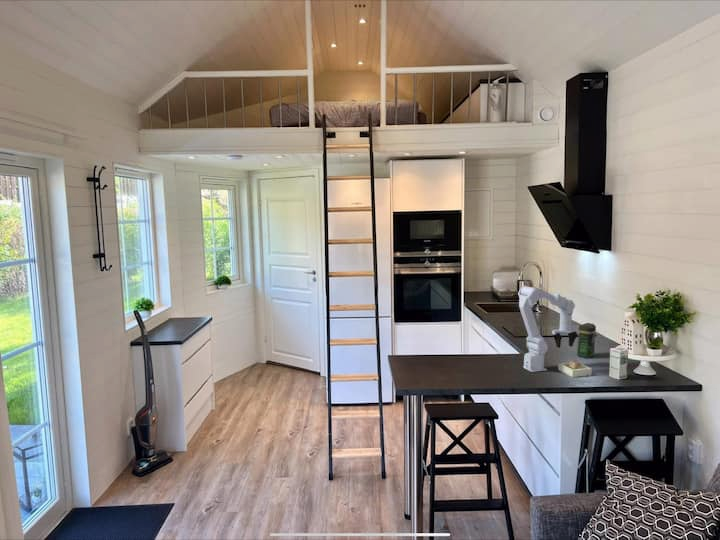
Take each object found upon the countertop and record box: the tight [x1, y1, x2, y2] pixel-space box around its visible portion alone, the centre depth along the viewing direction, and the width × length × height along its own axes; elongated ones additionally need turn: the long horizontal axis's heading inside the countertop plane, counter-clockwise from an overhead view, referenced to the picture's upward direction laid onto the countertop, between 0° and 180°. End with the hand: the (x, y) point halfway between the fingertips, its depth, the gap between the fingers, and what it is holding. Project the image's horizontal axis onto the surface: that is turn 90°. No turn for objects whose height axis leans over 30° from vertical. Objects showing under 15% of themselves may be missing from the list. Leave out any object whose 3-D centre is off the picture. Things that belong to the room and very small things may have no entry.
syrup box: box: [608, 346, 629, 380], centre depth 246 cm, size 6×6×14 cm
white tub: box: [557, 362, 593, 378], centre depth 253 cm, size 11×11×4 cm
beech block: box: [568, 360, 582, 370], centre depth 253 cm, size 4×4×5 cm
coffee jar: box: [576, 322, 597, 359], centre depth 280 cm, size 10×8×19 cm
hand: (564, 346), depth 265 cm, fingers open, 7 cm apart
